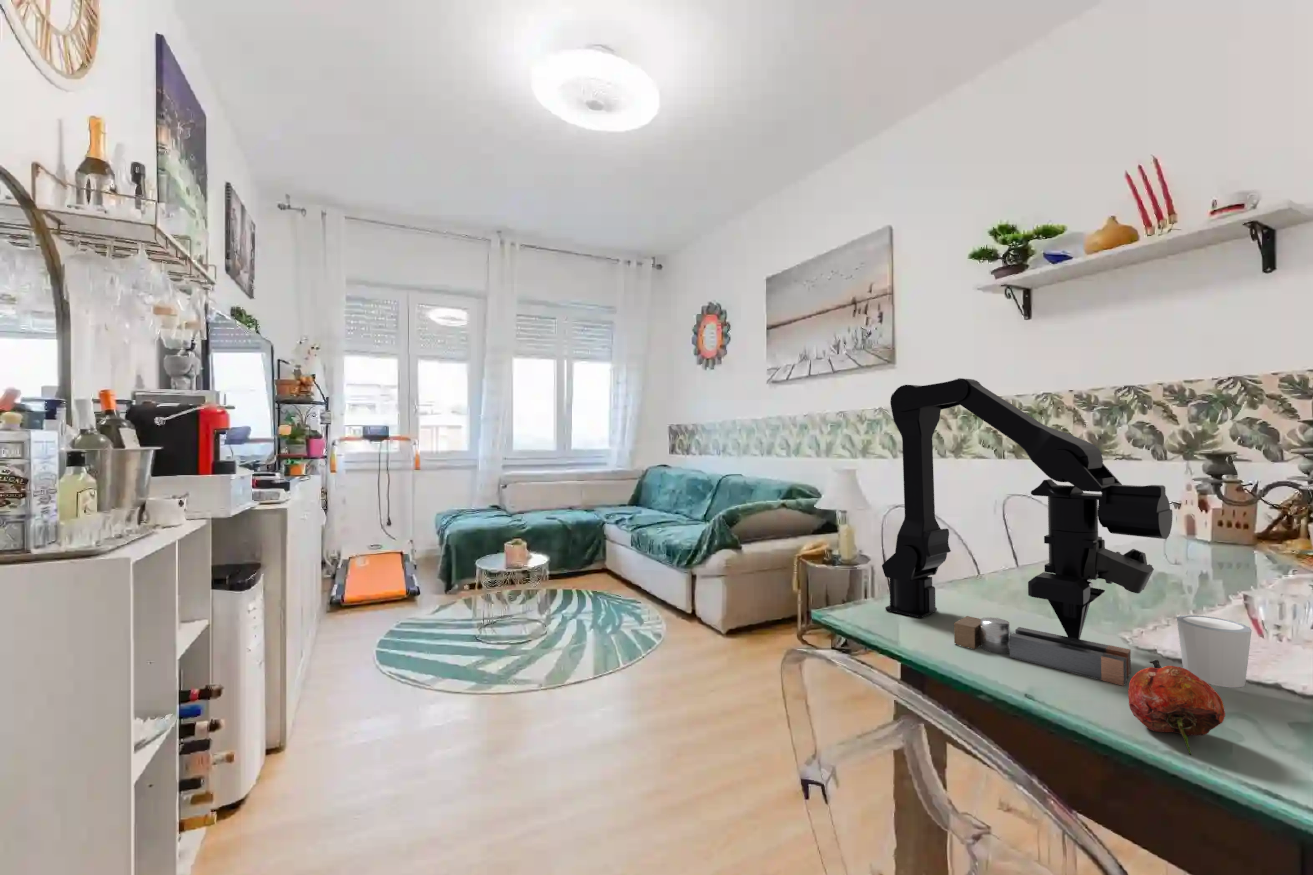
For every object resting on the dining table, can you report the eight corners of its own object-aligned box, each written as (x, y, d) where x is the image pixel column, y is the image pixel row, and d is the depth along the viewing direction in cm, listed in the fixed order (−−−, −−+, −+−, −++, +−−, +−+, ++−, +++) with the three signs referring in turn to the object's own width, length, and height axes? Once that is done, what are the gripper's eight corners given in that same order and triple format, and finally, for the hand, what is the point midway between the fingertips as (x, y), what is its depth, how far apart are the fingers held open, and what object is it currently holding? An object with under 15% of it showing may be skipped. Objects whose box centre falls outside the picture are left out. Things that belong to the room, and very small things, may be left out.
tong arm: (1015, 650, 82) (1015, 629, 82) (1019, 647, 83) (1019, 626, 83) (1128, 676, 72) (1127, 653, 72) (1130, 672, 74) (1130, 649, 74)
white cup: (1187, 683, 71) (1186, 626, 71) (1169, 663, 77) (1168, 611, 77) (1263, 693, 68) (1262, 634, 68) (1238, 672, 74) (1237, 618, 74)
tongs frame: (954, 644, 85) (954, 617, 85) (967, 636, 88) (966, 610, 88) (1123, 686, 70) (1122, 653, 70) (1131, 675, 73) (1130, 644, 73)
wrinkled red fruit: (1239, 780, 55) (1209, 685, 62) (1242, 738, 52) (1210, 643, 59) (1139, 764, 59) (1121, 677, 66) (1136, 725, 56) (1117, 637, 63)
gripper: (1131, 545, 69) (1133, 675, 69) (1159, 528, 81) (1161, 638, 81) (1025, 534, 78) (1027, 650, 78) (1065, 520, 90) (1067, 620, 90)
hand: (1074, 639), depth 81 cm, fingers closed
